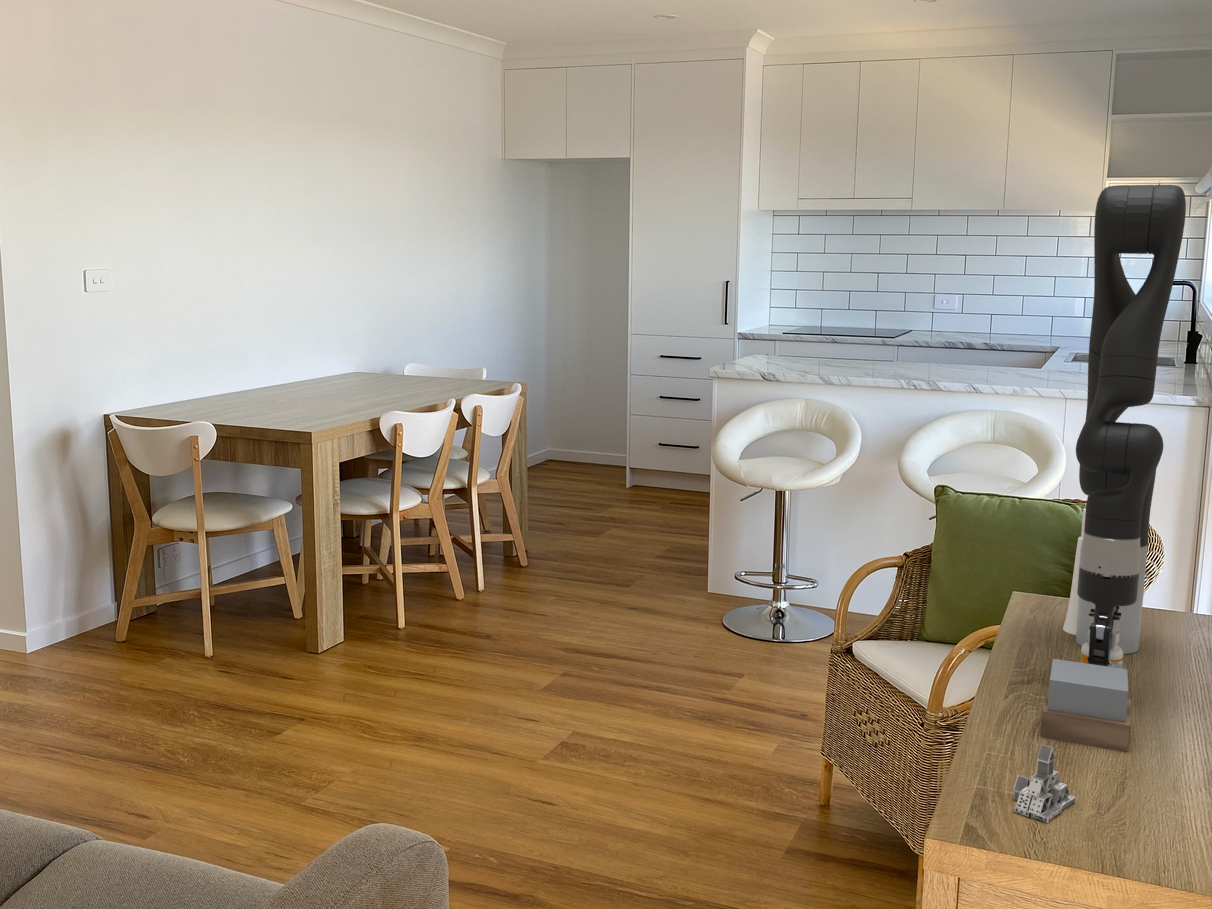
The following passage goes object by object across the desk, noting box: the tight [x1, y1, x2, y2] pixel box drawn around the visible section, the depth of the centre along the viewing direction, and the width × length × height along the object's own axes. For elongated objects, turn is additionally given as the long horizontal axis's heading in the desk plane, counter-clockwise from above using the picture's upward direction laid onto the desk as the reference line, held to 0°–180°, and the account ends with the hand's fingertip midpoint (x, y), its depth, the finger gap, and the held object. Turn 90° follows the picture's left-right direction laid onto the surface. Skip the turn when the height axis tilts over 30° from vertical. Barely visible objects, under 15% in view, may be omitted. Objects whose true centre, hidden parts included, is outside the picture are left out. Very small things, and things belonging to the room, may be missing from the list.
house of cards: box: [1013, 744, 1076, 824], centre depth 122 cm, size 9×9×8 cm
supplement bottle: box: [1079, 629, 1124, 669], centre depth 153 cm, size 5×5×10 cm
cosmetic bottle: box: [1062, 503, 1086, 636], centre depth 182 cm, size 6×6×22 cm
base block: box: [1040, 688, 1132, 753], centre depth 141 cm, size 10×10×4 cm
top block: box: [1047, 658, 1129, 722], centre depth 141 cm, size 9×9×4 cm
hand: (1099, 683), depth 153 cm, fingers closed on supplement bottle, 5 cm apart
